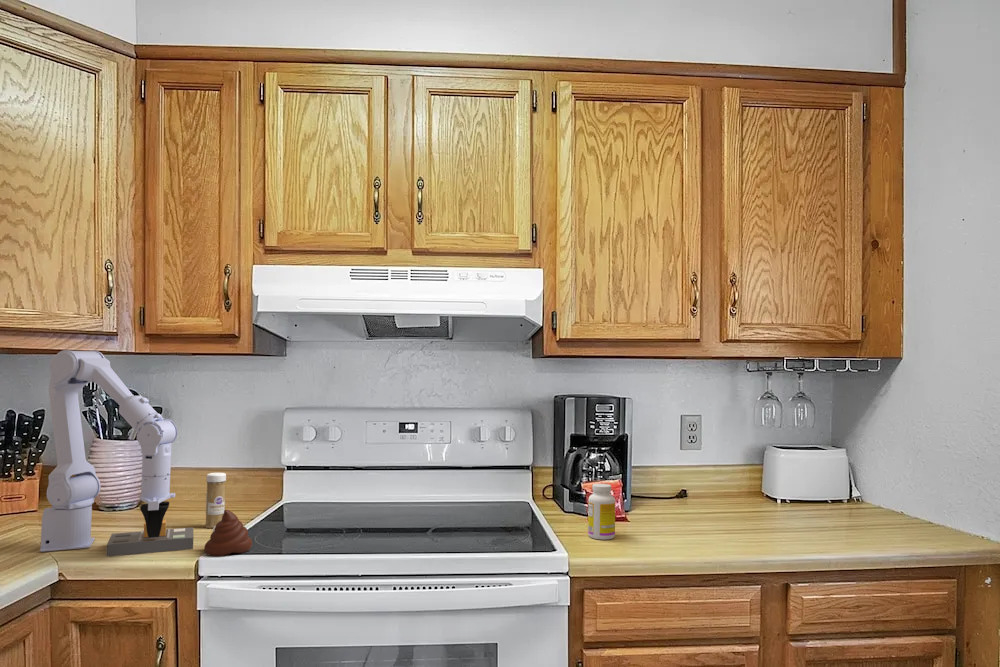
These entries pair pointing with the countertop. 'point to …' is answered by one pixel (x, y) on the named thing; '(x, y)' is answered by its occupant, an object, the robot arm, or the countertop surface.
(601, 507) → the supplement bottle
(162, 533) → the block
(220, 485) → the sprinkles bottle
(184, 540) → the grey block
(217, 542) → the poop emoji
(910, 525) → the countertop surface
